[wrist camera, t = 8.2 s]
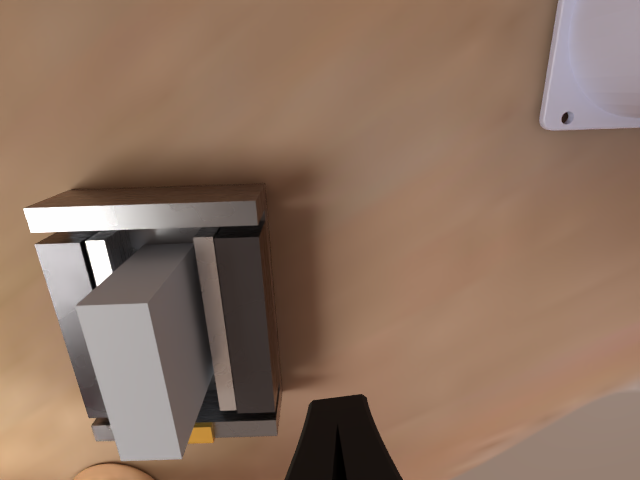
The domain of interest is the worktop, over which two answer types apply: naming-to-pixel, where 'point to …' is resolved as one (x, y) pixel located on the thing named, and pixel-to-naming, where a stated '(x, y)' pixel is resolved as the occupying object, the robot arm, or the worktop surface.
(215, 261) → the rack
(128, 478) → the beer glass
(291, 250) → the worktop surface
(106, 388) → the panel
